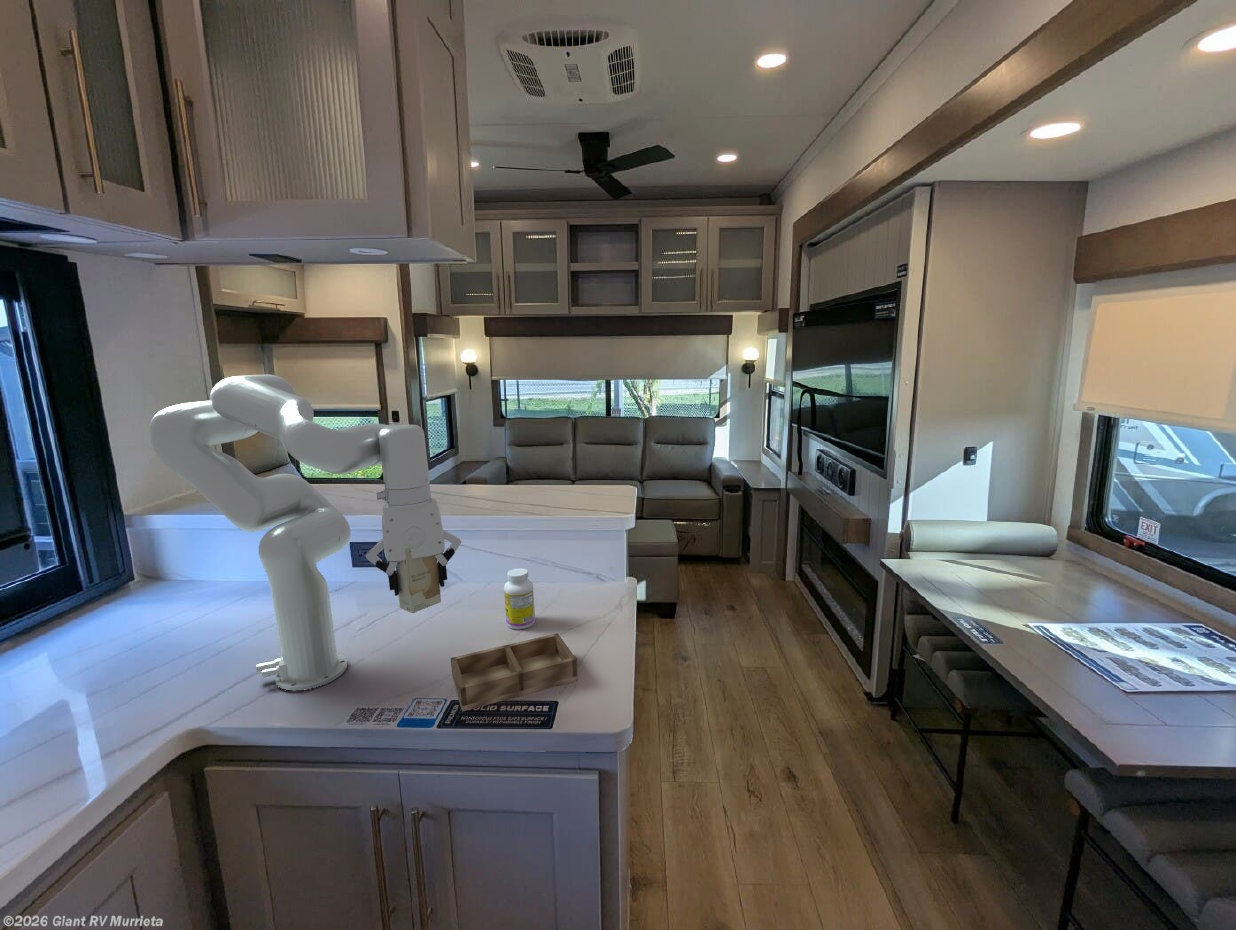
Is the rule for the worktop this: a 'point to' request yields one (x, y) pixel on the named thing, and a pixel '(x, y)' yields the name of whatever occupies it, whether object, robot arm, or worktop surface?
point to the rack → (512, 671)
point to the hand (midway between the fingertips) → (419, 587)
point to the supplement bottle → (519, 599)
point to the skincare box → (418, 583)
